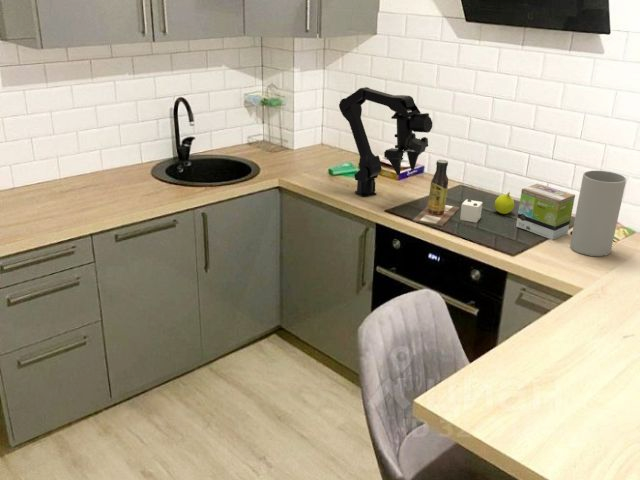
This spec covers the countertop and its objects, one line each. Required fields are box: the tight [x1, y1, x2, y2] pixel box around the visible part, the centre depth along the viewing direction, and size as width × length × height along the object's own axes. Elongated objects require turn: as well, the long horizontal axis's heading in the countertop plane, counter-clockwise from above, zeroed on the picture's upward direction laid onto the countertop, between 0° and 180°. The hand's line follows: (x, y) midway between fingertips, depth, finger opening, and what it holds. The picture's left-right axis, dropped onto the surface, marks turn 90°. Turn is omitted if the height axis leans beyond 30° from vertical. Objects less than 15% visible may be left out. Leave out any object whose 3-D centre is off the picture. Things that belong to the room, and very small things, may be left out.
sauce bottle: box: [427, 159, 449, 215], centre depth 232 cm, size 7×6×20 cm
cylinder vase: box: [569, 170, 627, 257], centre depth 205 cm, size 12×12×25 cm
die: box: [459, 198, 484, 223], centre depth 232 cm, size 6×6×7 cm
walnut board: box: [412, 204, 460, 228], centre depth 236 cm, size 21×11×1 cm, turn 152°
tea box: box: [515, 183, 576, 241], centre depth 221 cm, size 15×10×15 cm
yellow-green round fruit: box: [494, 191, 515, 215], centre depth 237 cm, size 7×7×10 cm
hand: (405, 172), depth 241 cm, fingers open, 9 cm apart
